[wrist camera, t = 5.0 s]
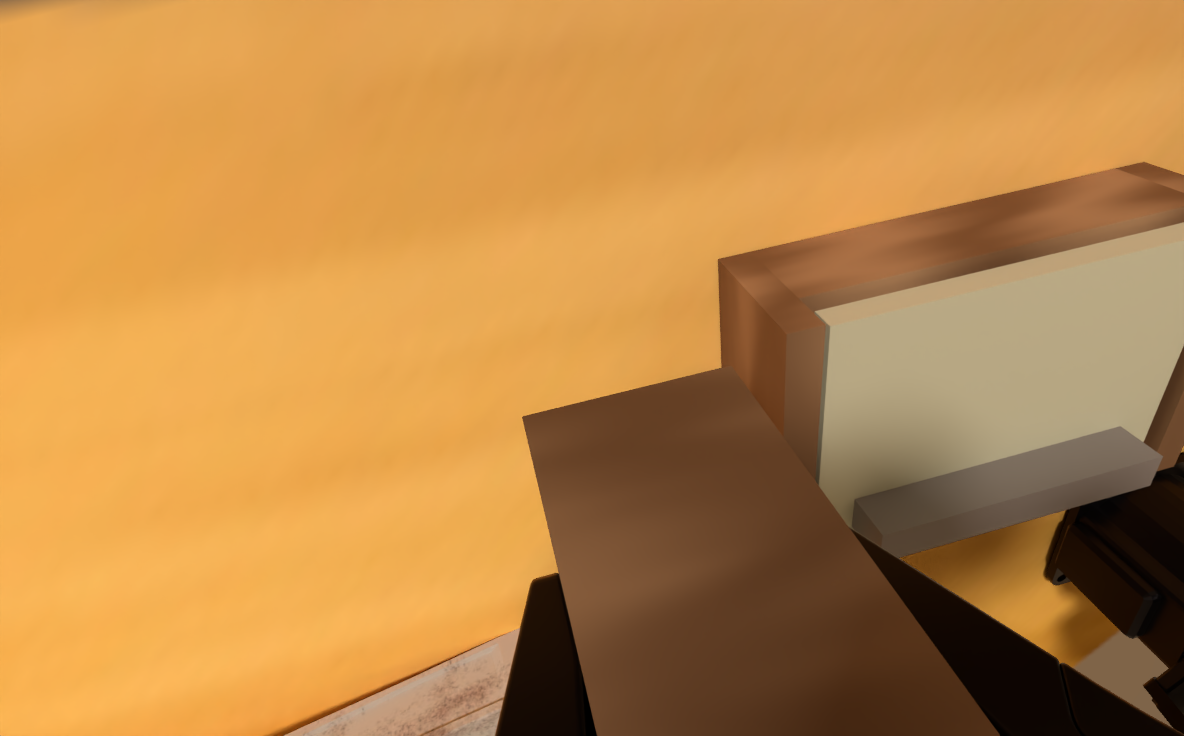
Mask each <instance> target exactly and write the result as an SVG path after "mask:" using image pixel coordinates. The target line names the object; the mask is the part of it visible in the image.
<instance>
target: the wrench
mask: <svg viewBox="0 0 1184 736" xmlns="http://www.w3.org/2000/svg"><path fill="white" fill-rule="evenodd" d="M519 631H520V628H519V629H516V630H514V631H512V632H509V633H507V634H505V635H502V636H500V637H497V638H495V639H493V640H491V641H489V642H487V643H485V644H482V645H480V646H478V647H476V648H474V649H472V650H470V651H467V652H465V653H463V654H461V655H459V656H457V657H455V658H453V659H450V660H448V661H446V662H444V663H442V664H440V665H438V666H435V667H433V668H431V669H429V670H427V671H425V672H423V673H421V674H418V675H416V676H414V677H412V678H410V679H408V680H405V681H403V682H401V683H399V684H396V685H394V686H392V687H390V688H388V689H385V690H383V691H381V692H379V693H376V694H374V695H372V696H370V697H368V698H365V699H363V700H361V701H359V702H357V703H354V704H352V705H350V706H348V707H345V708H343V709H341V710H339V711H337V712H334V713H332V714H330V715H328V716H326V717H323V718H321V719H319V720H317V721H314V722H312V723H310V724H308V725H306V726H303V727H301V728H299V729H297V730H295V731H292V732H290V733H288V734H286V735H284V736H495V733H496V729H497V724H498V720H499V716H500V712H501V707H502V703H503V699H504V695H505V690H506V686H507V682H508V678H509V673H510V669H511V665H512V661H513V656H514V652H515V648H516V644H517V639H518V635H519Z"/></svg>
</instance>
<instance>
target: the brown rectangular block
mask: <svg viewBox="0 0 1184 736" xmlns="http://www.w3.org/2000/svg"><path fill="white" fill-rule="evenodd" d="M522 418H523V422H524V427H525V431H526V435H527V439H528V444H529V448H530V452H531V456H532V461H533V465H534V469H535V474H536V478H537V482H538V486H539V491H540V495H541V499H542V503H543V508H544V512H545V516H546V520H547V525H548V529H549V533H550V537H551V542H552V546H553V550H554V554H555V559H556V563H557V567H558V571H559V576H560V580H561V584H562V588H563V593H564V597H565V601H566V605H567V610H568V614H569V618H570V622H571V627H572V631H573V635H574V639H575V644H576V648H577V652H578V656H579V661H580V665H581V669H582V673H583V678H584V682H585V686H586V690H587V695H588V699H589V703H590V707H591V712H592V716H593V720H594V724H595V729H596V733H597V736H1000V735H999V733H998V732H997V731H996V729H995V728H994V726H993V725H992V724H991V722H990V721H989V720H988V718H987V717H986V715H985V714H984V713H983V711H982V710H981V708H980V707H979V706H978V704H977V703H976V702H975V700H974V699H973V697H972V696H971V695H970V693H969V692H968V691H967V689H966V688H965V686H964V685H963V684H962V682H961V681H960V680H959V678H958V677H957V675H956V674H955V673H954V671H953V670H952V669H951V667H950V666H949V664H948V663H947V662H946V660H945V659H944V658H943V656H942V655H941V653H940V652H939V651H938V649H937V648H936V647H935V645H934V644H933V642H932V641H931V640H930V638H929V637H928V636H927V634H926V633H925V631H924V630H923V629H922V627H921V626H920V625H919V623H918V622H917V620H916V619H915V618H914V616H913V615H912V613H911V612H910V611H909V609H908V608H907V607H906V605H905V604H904V602H903V601H902V600H901V598H900V597H899V596H898V594H897V593H896V591H895V590H894V589H893V587H892V586H891V585H890V583H889V582H888V580H887V579H886V578H885V576H884V575H883V574H882V572H881V571H880V569H879V568H878V567H877V565H876V564H875V563H874V561H873V560H872V558H871V557H870V556H869V554H868V553H867V552H866V550H865V549H864V547H863V546H862V545H861V543H860V542H859V541H858V539H857V538H856V536H855V535H854V534H853V532H852V531H851V530H850V528H849V527H848V525H847V524H846V523H845V521H844V520H843V518H842V517H841V516H840V514H839V513H838V512H837V510H836V509H835V507H834V506H833V505H832V503H831V502H830V501H829V499H828V498H827V496H826V495H825V494H824V492H823V491H822V490H821V488H820V487H819V485H818V484H817V483H816V481H815V480H814V479H813V477H812V476H811V474H810V473H809V472H808V470H807V469H806V468H805V466H804V465H803V463H802V462H801V461H800V459H799V458H798V457H797V455H796V454H795V452H794V451H793V450H792V448H791V447H790V446H789V444H788V443H787V441H786V440H785V439H784V437H783V436H782V435H781V433H780V432H779V430H778V429H777V428H776V426H775V425H774V424H773V422H772V421H771V419H770V418H769V417H768V415H767V414H766V412H765V411H764V410H763V408H762V407H761V406H760V404H759V403H758V401H757V400H756V399H755V397H754V396H753V395H752V393H751V392H750V390H749V389H748V388H747V386H746V385H745V384H744V382H743V381H742V379H741V378H740V377H739V375H738V374H737V373H736V371H735V370H734V368H733V367H732V366H727V367H723V368H719V369H715V370H711V371H707V372H703V373H699V374H695V375H690V376H686V377H682V378H678V379H674V380H670V381H666V382H662V383H658V384H654V385H650V386H645V387H641V388H637V389H633V390H629V391H625V392H621V393H617V394H613V395H609V396H605V397H600V398H596V399H592V400H588V401H584V402H580V403H576V404H572V405H568V406H564V407H560V408H555V409H551V410H547V411H543V412H539V413H535V414H531V415H527V416H523V417H522Z"/></svg>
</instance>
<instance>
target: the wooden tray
mask: <svg viewBox="0 0 1184 736" xmlns="http://www.w3.org/2000/svg"><path fill="white" fill-rule="evenodd" d="M1179 223H1184V175H1181V174H1178V173H1175V172H1172V171H1169V170H1166V169H1163V168H1160V167H1157V166H1154V165H1151V164H1148V163H1145V162H1142V163H1138V164H1134V165H1129V166H1125V167H1121V168H1116V169H1112V170H1107V171H1103V172H1099V173H1094V174H1090V175H1086V176H1081V177H1077V178H1072V179H1068V180H1064V181H1059V182H1055V183H1050V184H1046V185H1042V186H1037V187H1033V188H1029V189H1024V190H1020V191H1015V192H1011V193H1007V194H1002V195H998V196H993V197H989V198H985V199H980V200H976V201H972V202H967V203H963V204H958V205H954V206H950V207H945V208H941V209H937V210H932V211H928V212H923V213H919V214H915V215H910V216H906V217H901V218H897V219H893V220H888V221H884V222H880V223H875V224H871V225H866V226H862V227H858V228H853V229H849V230H844V231H840V232H836V233H831V234H827V235H823V236H818V237H814V238H809V239H805V240H801V241H796V242H792V243H787V244H783V245H779V246H774V247H770V248H766V249H761V250H757V251H752V252H748V253H744V254H739V255H735V256H731V257H726V258H722V259H718V272H719V302H720V332H721V363H722V368H723V367H727V366H732V367H733V368H734V370H735V371H736V373H737V374H738V375H739V377H740V378H741V379H742V381H743V382H744V384H745V385H746V386H747V388H748V389H749V390H750V392H751V393H752V395H753V396H754V397H755V399H756V400H757V401H758V403H759V404H760V406H761V407H762V408H763V410H764V411H765V412H766V414H767V415H768V417H769V418H770V419H771V421H772V422H773V424H774V425H775V426H776V428H777V429H778V430H779V432H780V433H781V435H782V436H783V437H784V439H785V440H786V441H787V443H788V444H789V446H790V447H791V448H792V450H793V451H794V452H795V454H796V455H797V457H798V458H799V459H800V461H801V462H802V463H803V465H804V466H805V468H806V469H807V470H808V472H809V473H810V474H811V476H812V477H813V479H814V480H815V478H816V463H817V448H818V433H819V419H820V404H821V389H822V374H823V359H824V344H825V330H826V324H825V323H824V322H822V321H821V320H820V319H819V318H818V317H817V316H816V315H815V311H818V310H822V309H826V308H831V307H835V306H839V305H843V304H847V303H851V302H855V301H860V300H864V299H868V298H872V297H876V296H880V295H884V294H889V293H893V292H897V291H901V290H905V289H909V288H914V287H918V286H922V285H926V284H930V283H934V282H938V281H943V280H947V279H951V278H955V277H959V276H963V275H968V274H972V273H976V272H980V271H984V270H988V269H992V268H997V267H1001V266H1005V265H1009V264H1013V263H1017V262H1022V261H1026V260H1030V259H1034V258H1038V257H1042V256H1046V255H1051V254H1055V253H1059V252H1063V251H1067V250H1071V249H1076V248H1080V247H1084V246H1088V245H1092V244H1096V243H1100V242H1105V241H1109V240H1113V239H1117V238H1121V237H1125V236H1130V235H1134V234H1138V233H1142V232H1146V231H1150V230H1154V229H1159V228H1163V227H1167V226H1171V225H1175V224H1179ZM1143 443H1145V444H1146V445H1148V446H1149V447H1150V448H1152V449H1153V450H1155V451H1156V452H1157V453H1159V454H1160V455H1162V456H1163V458H1162V460H1161V462H1160V465H1159V467H1158V469H1157V471H1160V470H1163V469H1167V468H1170V467H1174V465H1175V463H1176V461H1177V459H1178V457H1179V454H1180V452H1181V450H1182V448H1183V446H1184V346H1183V348H1182V351H1181V353H1180V356H1179V358H1178V360H1177V363H1176V365H1175V368H1174V370H1173V372H1172V375H1171V377H1170V380H1169V382H1168V384H1167V387H1166V389H1165V392H1164V394H1163V397H1162V399H1161V401H1160V404H1159V406H1158V409H1157V411H1156V413H1155V416H1154V418H1153V421H1152V423H1151V425H1150V428H1149V430H1148V433H1147V435H1146V437H1145V440H1144V442H1143Z"/></svg>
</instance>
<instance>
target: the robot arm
mask: <svg viewBox="0 0 1184 736" xmlns="http://www.w3.org/2000/svg"><path fill="white" fill-rule="evenodd" d="M848 527H849V526H848ZM849 528H850V527H849ZM850 530H851V531H852V532H853V534H854V535H855V536H856V538H857V539H858V541H859V542H860V543H861V545H862V546H863V547H864V549H865V550H866V552H867V553H868V554H869V556H870V557H871V558H872V560H873V561H874V563H875V564H876V565H877V567H878V568H879V569H880V571H881V572H882V574H883V575H884V576H885V578H886V579H887V580H888V582H889V583H890V585H891V586H892V587H893V589H894V590H895V591H896V593H897V594H898V596H899V597H900V598H901V600H902V601H903V602H904V604H905V605H906V607H907V608H908V609H909V611H910V612H911V613H912V615H913V616H914V618H915V619H916V620H917V622H918V623H919V625H920V626H921V627H922V629H923V630H924V631H925V633H926V634H927V636H928V637H929V638H930V640H931V641H932V642H933V644H934V645H935V647H936V648H937V649H938V651H939V652H940V653H941V655H942V656H943V658H944V659H945V660H946V662H947V663H948V664H949V666H950V667H951V669H952V670H953V671H954V673H955V674H956V675H957V677H958V678H959V680H960V681H961V682H962V684H963V685H964V686H965V688H966V689H967V691H968V692H969V693H970V695H971V696H972V697H973V699H974V700H975V702H976V703H977V704H978V706H979V707H980V708H981V710H982V711H983V713H984V714H985V715H986V717H987V718H988V720H989V721H990V722H991V724H992V725H993V726H994V728H995V729H996V731H997V732H998V733H999V735H1000V736H1184V454H1180V455H1179V457H1178V459H1177V461H1176V463H1175V465H1174V467H1170V468H1167V469H1163V470H1160V471H1156V474H1155V476H1154V478H1153V480H1152V483H1151V485H1150V486H1147V487H1144V488H1140V489H1137V490H1133V491H1130V492H1126V493H1123V494H1119V495H1116V496H1112V497H1109V498H1106V499H1102V500H1099V501H1095V502H1092V503H1088V504H1085V505H1081V506H1078V507H1074V508H1071V509H1070V510H1069V513H1068V515H1067V518H1066V521H1065V524H1064V526H1063V529H1062V532H1061V535H1060V537H1059V540H1058V543H1057V546H1056V548H1055V551H1054V554H1053V557H1052V559H1051V562H1050V565H1049V568H1048V570H1047V573H1046V577H1047V579H1048V580H1049V581H1050V582H1051V583H1052V584H1053V585H1060V584H1064V583H1067V582H1070V581H1071V582H1072V583H1073V584H1074V585H1075V586H1076V587H1077V588H1078V589H1079V590H1080V591H1081V592H1082V593H1083V594H1084V595H1085V596H1086V597H1087V598H1088V599H1089V600H1090V601H1091V602H1092V603H1093V604H1094V605H1095V606H1096V607H1097V608H1098V609H1099V610H1100V611H1101V612H1102V613H1103V614H1104V615H1105V616H1106V617H1107V618H1108V619H1109V620H1110V621H1111V622H1112V623H1113V624H1114V625H1115V626H1116V627H1117V628H1118V629H1119V630H1120V631H1121V632H1122V633H1123V634H1125V635H1126V636H1128V637H1129V638H1136V637H1138V638H1139V639H1140V640H1141V641H1142V642H1143V643H1144V644H1145V645H1146V646H1147V647H1148V648H1149V649H1150V650H1151V651H1152V652H1153V653H1154V654H1155V655H1156V656H1157V657H1158V658H1159V659H1160V660H1161V661H1162V662H1163V663H1164V664H1165V665H1166V666H1167V667H1168V668H1169V669H1168V670H1166V671H1165V672H1164V673H1163V674H1161V675H1160V676H1159V677H1158V678H1156V677H1153V678H1152V679H1150V680H1149V681H1148V682H1146V683H1145V684H1144V685H1143V686H1144V688H1145V689H1146V690H1147V691H1148V692H1149V694H1150V695H1151V696H1152V698H1153V699H1152V701H1153V702H1154V703H1155V705H1156V707H1157V708H1158V709H1159V711H1160V712H1161V713H1162V715H1163V716H1164V717H1165V718H1166V719H1167V721H1168V722H1169V723H1170V725H1171V726H1172V727H1173V728H1174V729H1173V728H1171V727H1170V726H1168V725H1166V724H1164V723H1163V722H1161V721H1159V720H1157V719H1156V718H1154V717H1152V716H1150V715H1148V714H1146V713H1145V712H1143V711H1141V710H1139V709H1138V708H1136V707H1135V706H1133V705H1132V704H1130V703H1128V702H1127V701H1125V700H1123V699H1122V698H1120V697H1118V696H1117V695H1115V694H1114V693H1112V692H1110V691H1109V690H1107V689H1105V688H1103V687H1102V686H1100V685H1099V684H1097V683H1095V682H1094V681H1092V680H1091V679H1089V678H1087V677H1086V676H1084V675H1083V674H1081V673H1080V672H1078V671H1076V670H1075V669H1073V668H1072V667H1070V666H1069V665H1067V664H1065V663H1061V664H1059V661H1058V659H1057V658H1056V657H1054V656H1052V655H1051V654H1049V653H1048V652H1046V651H1044V650H1043V649H1041V648H1040V647H1038V646H1037V645H1035V644H1033V643H1032V642H1030V641H1029V640H1027V639H1026V638H1024V637H1022V636H1021V635H1019V634H1018V633H1016V632H1014V631H1013V630H1011V629H1010V628H1008V627H1007V626H1005V625H1003V624H1002V623H1000V622H999V621H997V620H996V619H994V618H992V617H991V616H989V615H988V614H986V613H984V612H983V611H981V610H980V609H978V608H977V607H975V606H973V605H972V604H970V603H969V602H967V601H966V600H964V599H962V598H961V597H959V596H958V595H956V594H954V593H953V592H951V591H950V590H948V589H947V588H945V587H943V586H942V585H940V584H939V583H937V582H936V581H934V580H932V579H931V578H929V577H928V576H926V575H925V574H923V573H921V572H920V571H918V570H917V569H915V568H913V567H912V566H910V565H909V564H907V563H906V562H904V561H902V560H901V559H899V558H898V557H896V556H895V555H893V554H891V553H890V552H888V551H887V550H885V549H883V548H882V547H880V546H879V545H877V544H876V543H874V542H872V541H871V540H869V539H868V538H866V537H865V536H863V535H861V534H860V533H858V532H857V531H855V530H853V529H852V528H850ZM495 736H597V733H596V729H595V724H594V720H593V716H592V712H591V707H590V703H589V699H588V695H587V690H586V686H585V682H584V678H583V673H582V669H581V665H580V661H579V656H578V652H577V648H576V644H575V639H574V635H573V631H572V627H571V622H570V618H569V614H568V610H567V605H566V601H565V597H564V593H563V588H562V584H561V580H560V576H559V574H558V573H554V574H550V575H547V576H543V577H539V578H536V579H534V580H533V581H532V583H531V585H530V588H529V592H528V597H527V601H526V605H525V609H524V614H523V618H522V622H521V626H520V631H519V635H518V639H517V644H516V648H515V652H514V656H513V661H512V665H511V669H510V673H509V678H508V682H507V686H506V690H505V695H504V699H503V703H502V707H501V712H500V716H499V720H498V724H497V729H496V733H495Z"/></svg>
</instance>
